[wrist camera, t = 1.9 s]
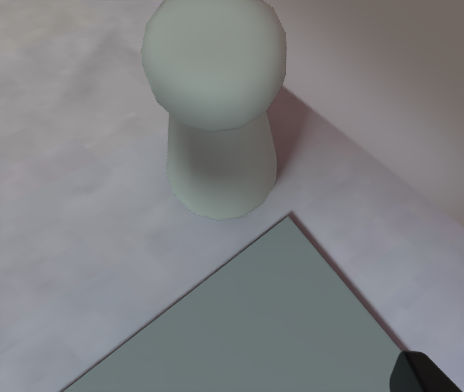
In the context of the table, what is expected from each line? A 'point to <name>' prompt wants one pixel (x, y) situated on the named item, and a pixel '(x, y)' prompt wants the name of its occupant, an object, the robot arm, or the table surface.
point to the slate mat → (257, 331)
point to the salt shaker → (217, 99)
